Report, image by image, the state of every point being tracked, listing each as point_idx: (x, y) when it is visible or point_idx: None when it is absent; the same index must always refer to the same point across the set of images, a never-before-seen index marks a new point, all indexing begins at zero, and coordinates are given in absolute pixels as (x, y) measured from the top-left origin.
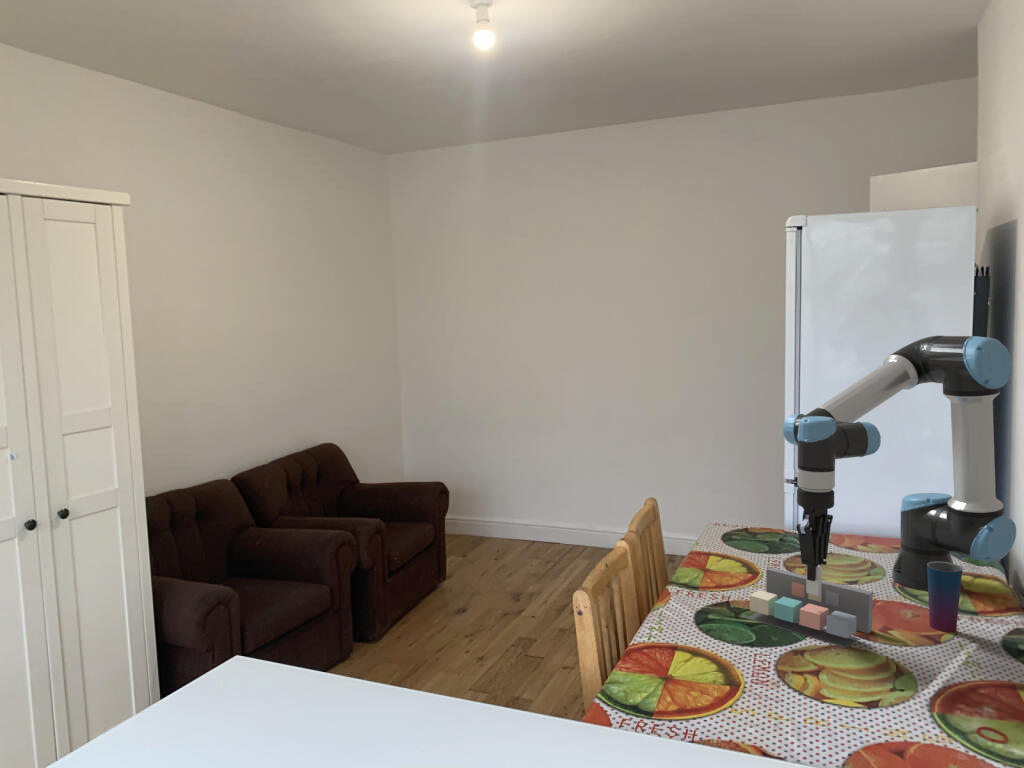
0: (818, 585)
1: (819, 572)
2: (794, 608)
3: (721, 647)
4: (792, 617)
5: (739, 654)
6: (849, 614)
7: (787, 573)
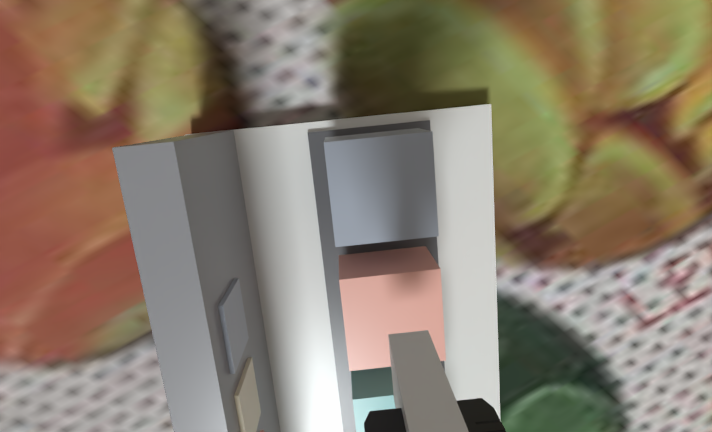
0: (441, 364)
1: (450, 424)
2: None
3: (671, 416)
4: None
5: (681, 353)
6: (330, 176)
7: None
